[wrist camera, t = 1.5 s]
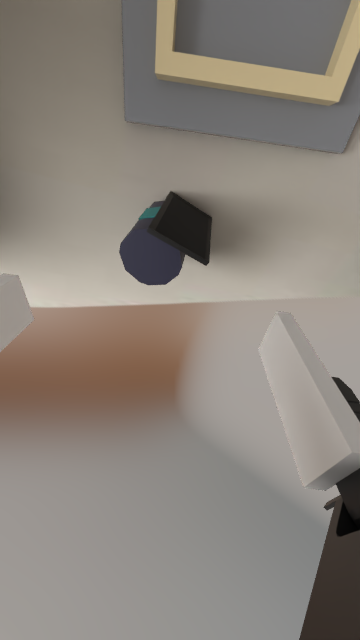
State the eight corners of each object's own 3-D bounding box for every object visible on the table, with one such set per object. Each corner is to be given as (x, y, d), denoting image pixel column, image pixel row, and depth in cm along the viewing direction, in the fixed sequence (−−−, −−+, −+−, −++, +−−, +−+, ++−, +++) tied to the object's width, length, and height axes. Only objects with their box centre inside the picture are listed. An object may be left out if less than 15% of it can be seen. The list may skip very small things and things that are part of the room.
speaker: (179, 172, 22) (163, 196, 14) (212, 218, 24) (214, 260, 17) (132, 221, 26) (99, 262, 18) (165, 257, 28) (149, 305, 21)
